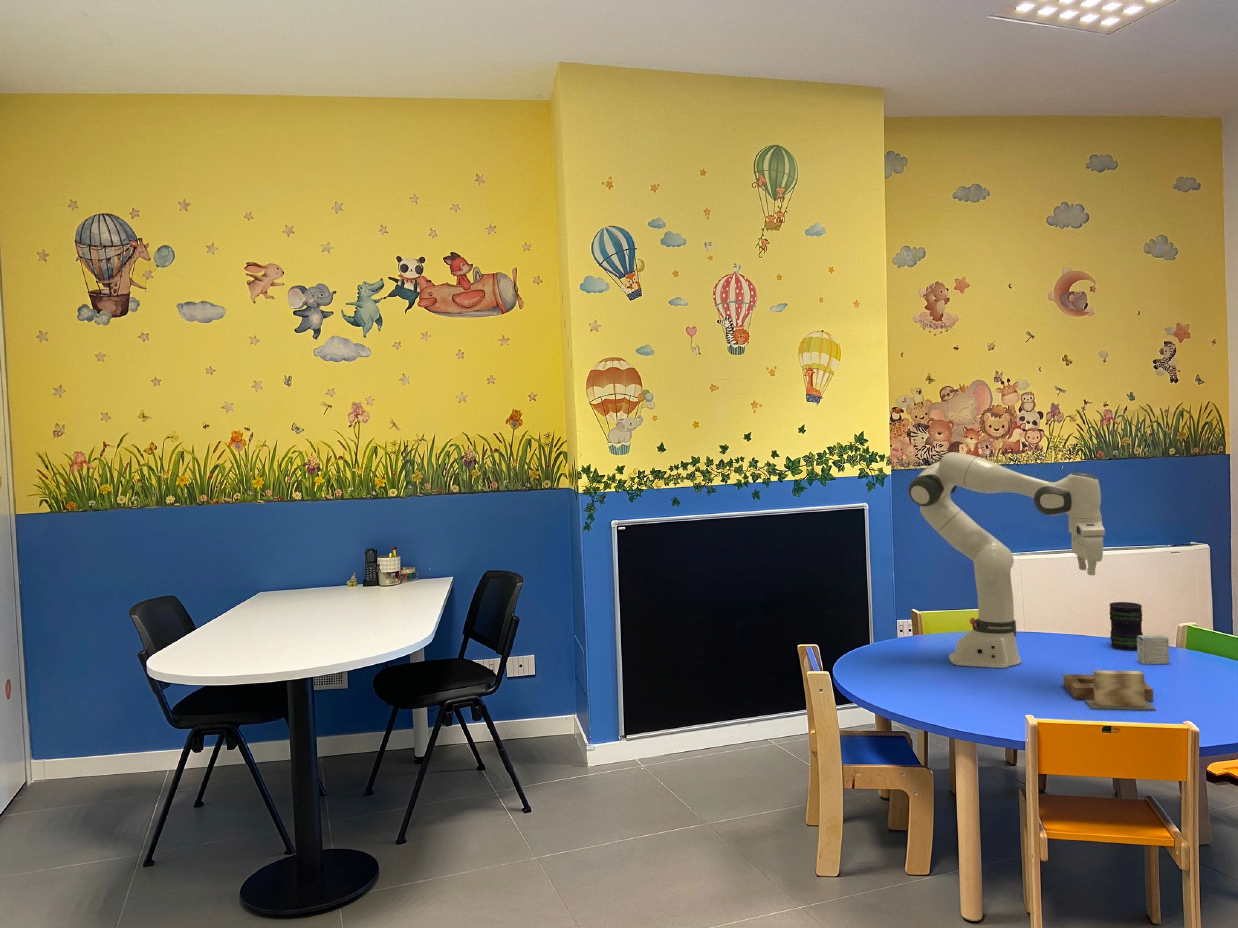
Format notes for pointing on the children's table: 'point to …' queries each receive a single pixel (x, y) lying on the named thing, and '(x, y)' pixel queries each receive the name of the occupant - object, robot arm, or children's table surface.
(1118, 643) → the black cylinder
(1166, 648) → the medicine box
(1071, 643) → the children's table surface
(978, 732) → the children's table surface
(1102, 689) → the oak cover plate
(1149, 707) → the grey flat slab
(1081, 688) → the walnut case
